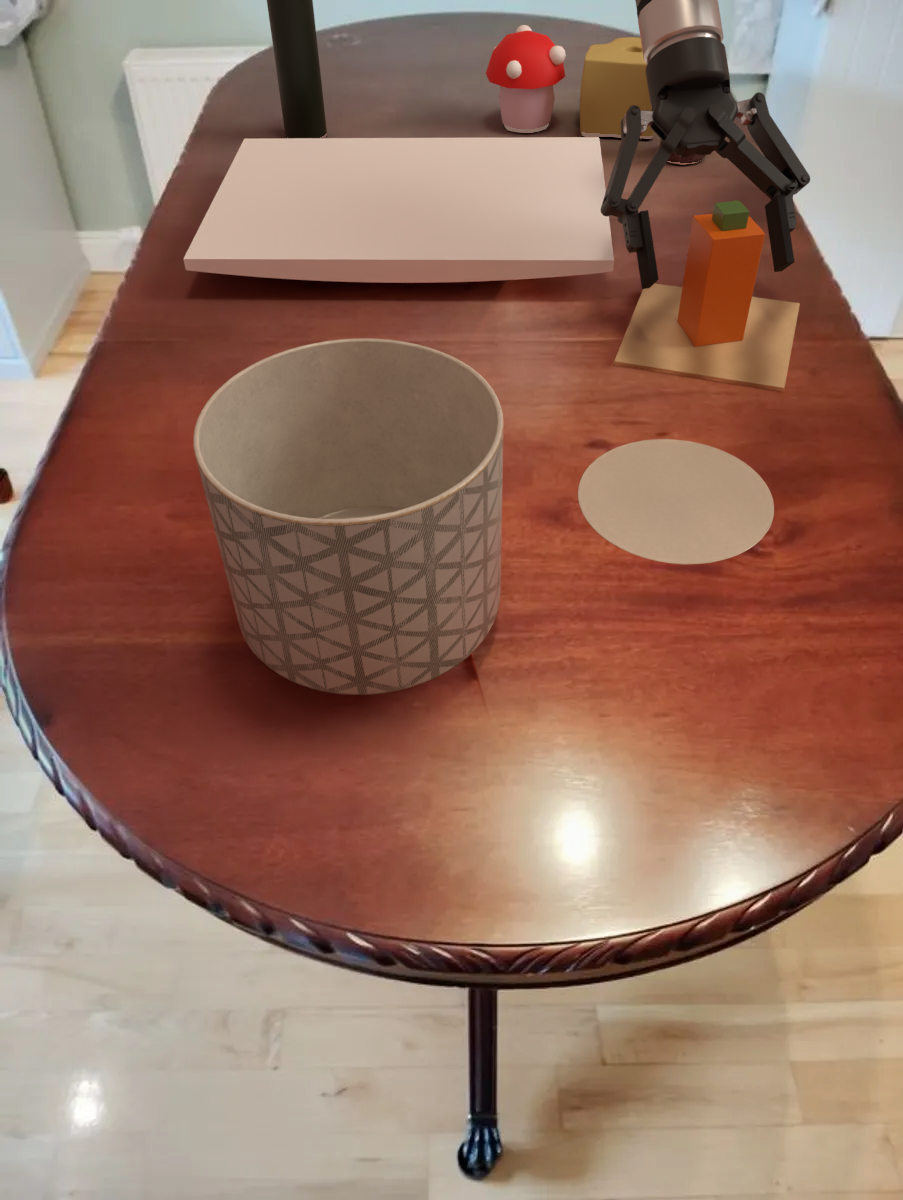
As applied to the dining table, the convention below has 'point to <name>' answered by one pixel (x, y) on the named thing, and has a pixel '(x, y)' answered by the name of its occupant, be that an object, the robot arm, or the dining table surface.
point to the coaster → (745, 362)
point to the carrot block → (720, 274)
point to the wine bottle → (297, 67)
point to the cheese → (613, 85)
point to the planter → (357, 510)
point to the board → (408, 210)
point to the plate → (675, 501)
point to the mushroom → (526, 77)
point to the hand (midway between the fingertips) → (718, 276)
